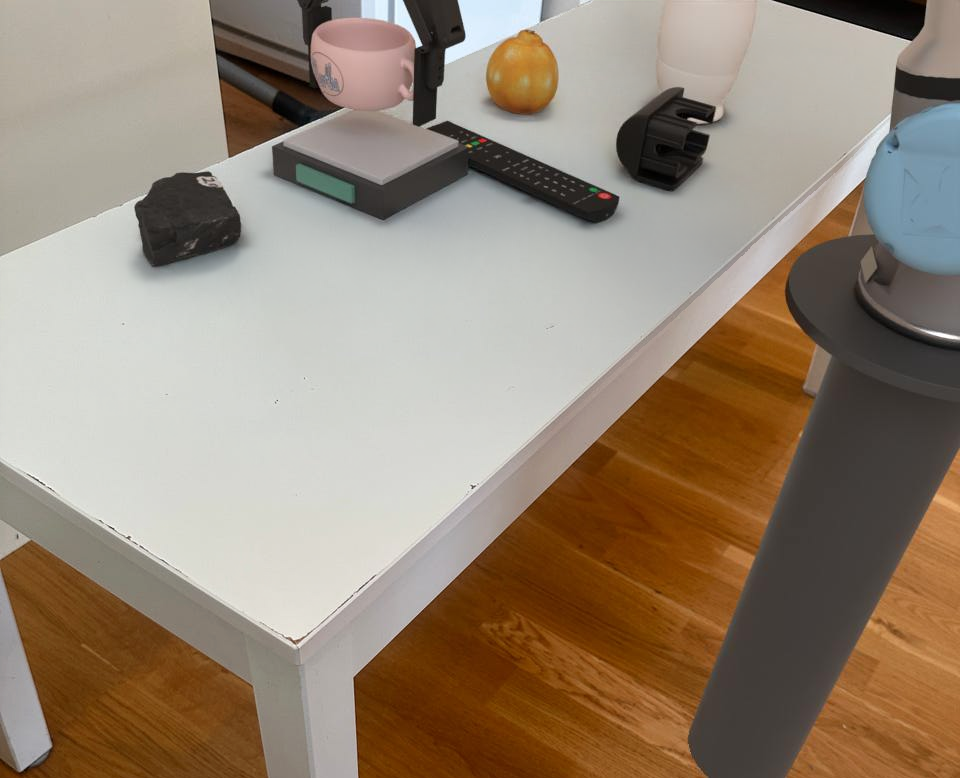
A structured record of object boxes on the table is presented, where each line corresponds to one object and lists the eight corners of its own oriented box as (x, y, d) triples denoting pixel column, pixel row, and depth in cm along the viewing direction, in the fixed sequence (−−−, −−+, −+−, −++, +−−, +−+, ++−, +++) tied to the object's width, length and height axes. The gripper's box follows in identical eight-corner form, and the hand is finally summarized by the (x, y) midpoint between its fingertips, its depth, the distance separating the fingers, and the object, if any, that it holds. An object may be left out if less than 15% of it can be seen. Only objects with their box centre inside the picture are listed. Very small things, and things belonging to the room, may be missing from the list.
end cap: (645, 144, 114) (658, 79, 109) (704, 162, 112) (720, 96, 107) (609, 175, 108) (620, 107, 103) (670, 194, 106) (685, 126, 101)
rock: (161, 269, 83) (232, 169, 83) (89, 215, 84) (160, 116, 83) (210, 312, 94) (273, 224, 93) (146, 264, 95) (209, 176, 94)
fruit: (551, 69, 121) (527, 7, 114) (578, 102, 116) (556, 39, 110) (492, 109, 122) (465, 50, 115) (517, 143, 118) (491, 84, 111)
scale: (467, 174, 105) (469, 140, 103) (380, 222, 97) (380, 186, 94) (362, 134, 110) (362, 101, 107) (270, 176, 102) (267, 141, 99)
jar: (692, 136, 116) (726, -13, 105) (626, 105, 121) (651, -41, 110) (748, 117, 122) (786, -27, 111) (682, 88, 126) (712, -53, 115)
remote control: (446, 133, 112) (447, 120, 111) (621, 211, 102) (624, 198, 101) (413, 146, 109) (413, 132, 108) (590, 227, 99) (592, 214, 98)
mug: (291, 98, 98) (287, 30, 94) (361, 74, 104) (360, 8, 99) (383, 138, 94) (384, 68, 89) (452, 110, 99) (455, 43, 95)
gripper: (228, -204, 84) (251, 77, 100) (466, -143, 76) (450, 152, 92) (290, -212, 89) (302, 58, 105) (520, -155, 81) (496, 128, 97)
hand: (371, 102), depth 98 cm, fingers closed on mug, 12 cm apart
